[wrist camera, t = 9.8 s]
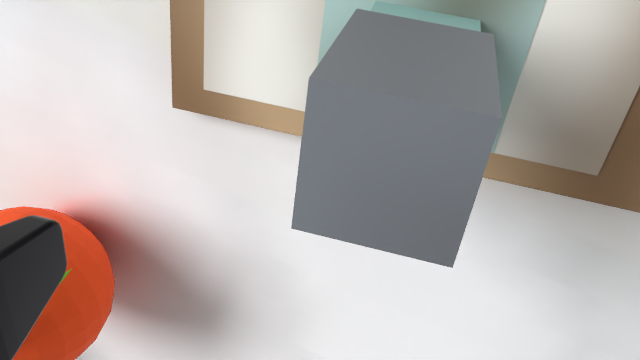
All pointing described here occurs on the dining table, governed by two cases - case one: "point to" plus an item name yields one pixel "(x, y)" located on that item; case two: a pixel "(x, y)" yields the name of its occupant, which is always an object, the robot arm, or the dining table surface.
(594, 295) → the dining table surface
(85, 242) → the clementine
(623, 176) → the square wooden frame
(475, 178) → the grey and teal block
